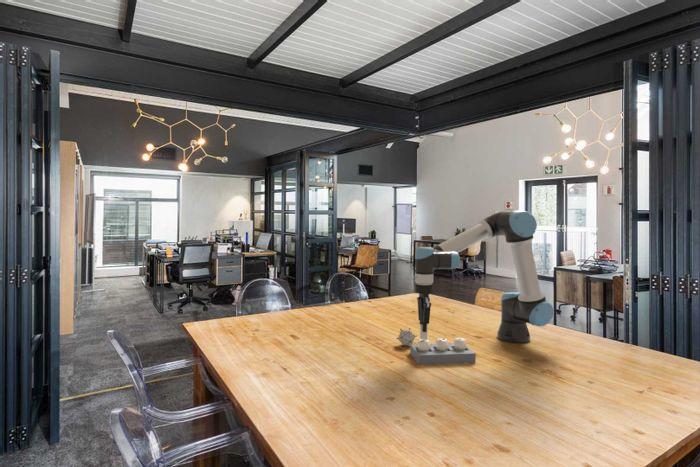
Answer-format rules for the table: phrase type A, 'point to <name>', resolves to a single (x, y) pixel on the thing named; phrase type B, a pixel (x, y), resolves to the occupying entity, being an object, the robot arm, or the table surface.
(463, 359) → the button board
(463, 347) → the button
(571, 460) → the table surface
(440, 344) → the button
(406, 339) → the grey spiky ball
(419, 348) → the button
